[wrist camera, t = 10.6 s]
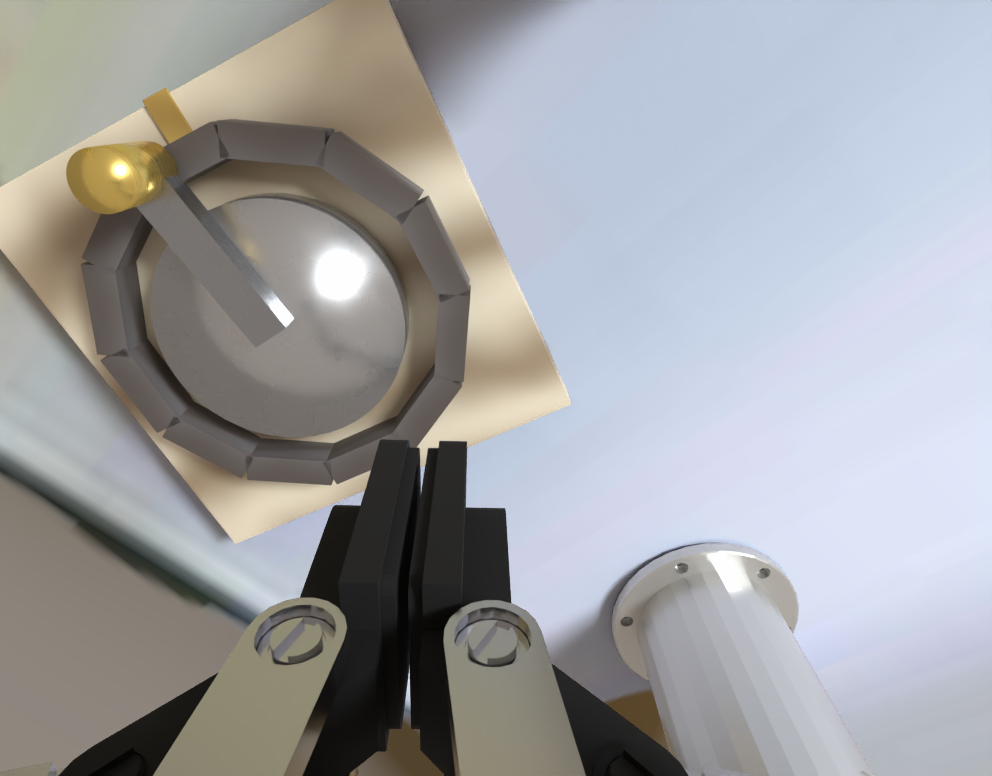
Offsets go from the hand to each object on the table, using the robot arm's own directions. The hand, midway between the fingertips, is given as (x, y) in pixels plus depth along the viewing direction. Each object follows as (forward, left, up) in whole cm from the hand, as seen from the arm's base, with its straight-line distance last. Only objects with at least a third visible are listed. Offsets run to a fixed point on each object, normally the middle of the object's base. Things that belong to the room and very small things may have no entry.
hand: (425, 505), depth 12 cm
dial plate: (+1, +9, -23) cm, 25 cm away
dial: (+3, +9, -21) cm, 23 cm away
